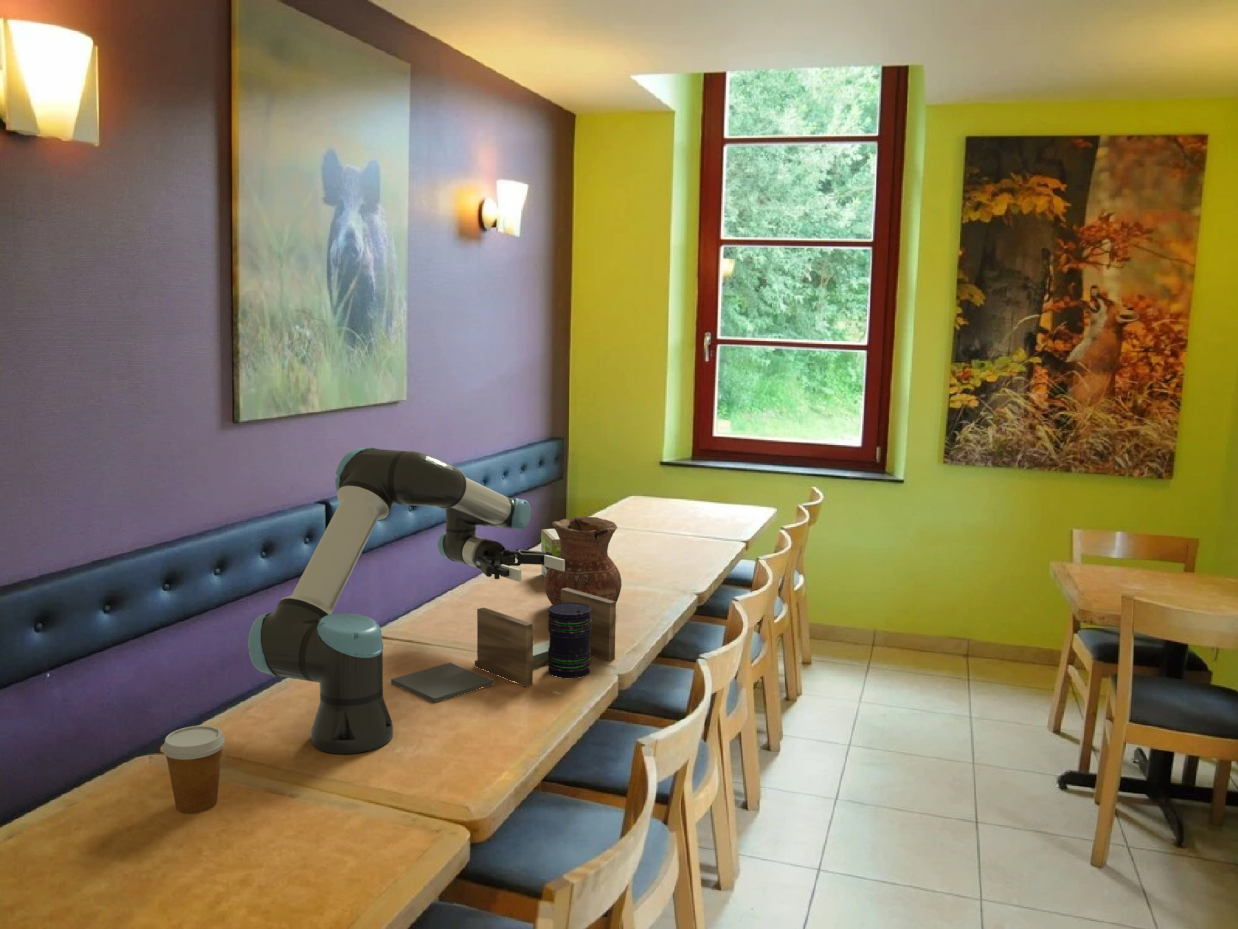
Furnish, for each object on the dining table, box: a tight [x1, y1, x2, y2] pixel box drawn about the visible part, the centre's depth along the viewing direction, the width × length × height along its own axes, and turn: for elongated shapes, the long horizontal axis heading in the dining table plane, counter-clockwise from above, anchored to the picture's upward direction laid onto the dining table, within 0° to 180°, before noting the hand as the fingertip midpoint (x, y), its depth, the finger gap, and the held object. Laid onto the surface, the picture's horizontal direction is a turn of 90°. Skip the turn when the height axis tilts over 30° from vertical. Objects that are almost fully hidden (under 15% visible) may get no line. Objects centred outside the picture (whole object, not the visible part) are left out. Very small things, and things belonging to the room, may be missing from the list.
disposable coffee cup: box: [161, 725, 226, 814], centre depth 170 cm, size 10×10×12 cm
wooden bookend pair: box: [474, 588, 617, 687], centre depth 242 cm, size 28×18×14 cm, turn 136°
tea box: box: [540, 528, 561, 578], centre depth 319 cm, size 15×10×15 cm, turn 17°
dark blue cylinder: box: [547, 602, 592, 679], centre depth 237 cm, size 10×10×15 cm
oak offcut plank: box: [533, 658, 548, 670], centre depth 245 cm, size 12×6×2 cm, turn 137°
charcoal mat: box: [390, 662, 495, 704], centre depth 228 cm, size 16×16×1 cm
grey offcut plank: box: [533, 641, 550, 663], centre depth 245 cm, size 11×5×2 cm, turn 139°
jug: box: [543, 516, 622, 605], centre depth 284 cm, size 22×21×25 cm
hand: (542, 570), depth 242 cm, fingers open, 13 cm apart
